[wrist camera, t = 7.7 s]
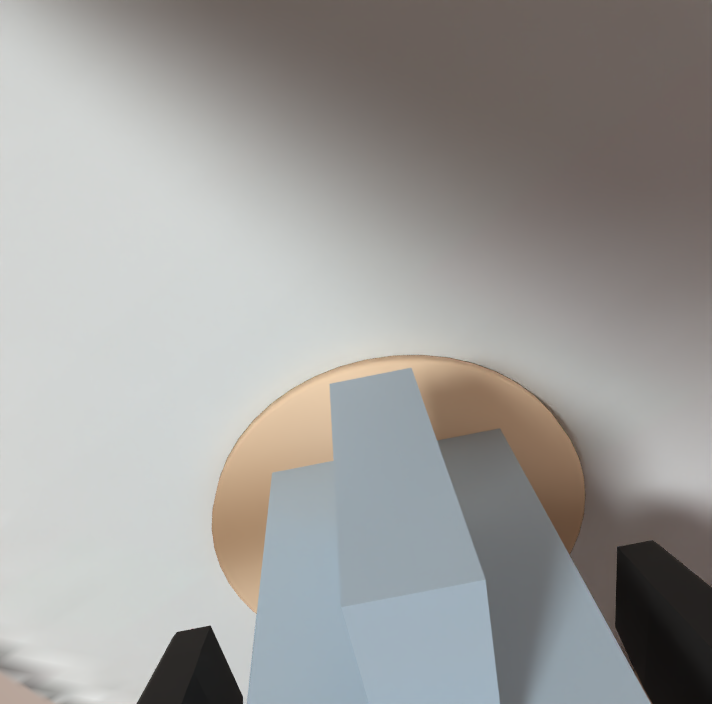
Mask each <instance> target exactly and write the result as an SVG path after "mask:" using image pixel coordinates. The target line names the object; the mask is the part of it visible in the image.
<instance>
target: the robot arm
mask: <svg viewBox="0 0 712 704" xmlns="http://www.w3.org/2000/svg"><path fill="white" fill-rule="evenodd" d="M615 627H616V629H617V631H618V633H619V636H620V638H621V640H622V642H623V645H624V647H625V649H626V651H627V653H628V656H629V658H630V660H631V662H632V664H633V667H634V669H635V671H636V673H637V675H638V677H639V679H640V681H641V683H642V686H643V688H644V690H645V691H646V693H647V695H648V697H649V698H650V700H651V702H652V704H712V587H710V586H709V585H708V584H707V583H705V582H704V581H703V580H702V579H700V578H699V577H698V576H697V575H695V574H694V573H693V572H692V571H691V570H689V569H688V568H687V567H686V566H684V565H683V564H682V563H681V562H679V561H678V560H677V559H676V558H675V557H673V556H672V555H671V554H670V553H668V552H667V551H666V550H665V549H664V548H662V547H661V546H660V545H659V544H657V543H656V542H654V541H653V540H652V541H646V542H641V543H636V544H631V545H626V546H621V547H617V580H616V620H615ZM137 704H243V696H242V694H241V692H240V689H239V687H238V685H237V683H236V681H235V678H234V676H233V674H232V672H231V670H230V667H229V665H228V663H227V661H226V659H225V656H224V654H223V652H222V650H221V648H220V645H219V643H218V641H217V639H216V637H215V634H214V632H213V630H212V628H211V626H206V627H201V628H196V629H191V630H185V631H180V632H177V633H176V634H175V635H174V637H173V638H172V640H171V642H170V644H169V645H168V647H167V649H166V651H165V653H164V655H163V656H162V658H161V660H160V662H159V664H158V666H157V668H156V669H155V671H154V673H153V675H152V677H151V679H150V680H149V682H148V684H147V686H146V688H145V690H144V691H143V693H142V695H141V697H140V699H139V700H138V702H137Z"/></svg>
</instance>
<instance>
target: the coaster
mask: <svg viewBox="0 0 712 704" xmlns="http://www.w3.org/2000/svg"><path fill="white" fill-rule="evenodd" d="M407 368H412V371H413V373H414V376H415V379H416V382H417V385H418V388H419V391H420V393H421V396H422V399H423V402H424V405H425V408H426V411H427V413H428V416H429V419H430V422H431V425H432V428H433V431H434V434H435V436H436V439H437V440H442V439H447V438H452V437H458V436H463V435H468V434H473V433H478V432H483V431H488V430H493V429H498V428H500V429H501V431H502V433H503V435H504V436H505V438H506V440H507V442H508V444H509V446H510V447H511V449H512V451H513V453H514V455H515V457H516V458H517V460H518V462H519V464H520V466H521V467H522V469H523V471H524V473H525V475H526V477H527V478H528V480H529V482H530V484H531V486H532V488H533V489H534V491H535V493H536V495H537V497H538V499H539V500H540V502H541V504H542V506H543V508H544V509H545V511H546V513H547V515H548V517H549V519H550V520H551V522H552V524H553V526H554V528H555V530H556V531H557V533H558V535H559V537H560V539H561V541H562V542H563V544H564V546H565V548H566V550H567V551H568V553H569V555H570V553H571V551H572V549H573V547H574V544H575V542H576V539H577V537H578V534H579V532H580V528H581V524H582V520H583V515H584V507H585V485H584V475H583V472H582V468H581V464H580V461H579V457H578V455H577V453H576V451H575V449H574V447H573V444H572V442H571V440H570V438H569V437H568V436H567V434H566V433H565V431H564V430H563V429H562V427H561V426H560V424H559V423H558V422H557V420H556V419H555V417H554V416H553V415H552V413H551V412H550V411H549V410H548V409H547V408H546V407H545V406H544V405H543V404H542V403H541V402H540V401H539V400H538V399H537V398H536V397H535V396H534V395H533V394H531V393H530V392H529V391H527V390H526V389H525V388H523V387H522V386H521V385H519V384H518V383H516V382H514V381H513V380H511V379H509V378H507V377H505V376H503V375H501V374H499V373H497V372H495V371H493V370H490V369H487V368H484V367H482V366H479V365H476V364H474V363H470V362H465V361H461V360H456V359H452V358H447V357H437V356H426V355H399V356H388V357H381V358H374V359H367V360H363V361H359V362H355V363H351V364H348V365H344V366H340V367H337V368H335V369H332V370H330V371H327V372H325V373H322V374H320V375H317V376H315V377H313V378H311V379H309V380H307V381H305V382H304V383H302V384H300V385H298V386H296V387H294V388H293V389H291V390H290V391H288V392H287V393H285V394H284V395H283V396H281V397H280V398H278V399H277V400H276V401H274V402H273V403H271V404H270V405H269V406H268V407H267V408H266V409H265V410H264V411H263V412H262V413H261V414H260V415H259V416H257V417H256V418H255V419H254V420H253V421H252V423H251V424H250V425H249V426H248V428H247V429H246V430H245V431H244V433H243V434H242V435H241V436H240V438H239V439H238V441H237V442H236V444H235V446H234V447H233V449H232V451H231V452H230V454H229V456H228V458H227V460H226V463H225V465H224V468H223V470H222V473H221V476H220V479H219V483H218V487H217V491H216V496H215V501H214V505H213V512H212V534H213V541H214V548H215V551H216V555H217V558H218V561H219V564H220V567H221V569H222V571H223V572H224V574H225V576H226V578H227V580H228V582H229V584H230V585H231V586H232V588H233V589H234V591H235V592H236V593H237V595H238V596H239V597H240V598H241V599H242V600H243V602H244V603H245V604H246V605H247V606H248V607H249V608H250V609H251V610H252V611H253V612H255V613H256V614H257V607H258V597H259V588H260V579H261V570H262V561H263V552H264V542H265V533H266V524H267V515H268V506H269V497H270V488H271V478H272V473H273V472H278V471H284V470H289V469H294V468H299V467H304V466H309V465H314V464H319V463H325V462H330V461H334V460H333V441H332V422H331V403H330V384H331V383H336V382H341V381H346V380H351V379H356V378H361V377H366V376H371V375H376V374H382V373H387V372H392V371H397V370H402V369H407Z"/></svg>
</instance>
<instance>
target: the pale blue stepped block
mask: <svg viewBox="0 0 712 704" xmlns="http://www.w3.org/2000/svg"><path fill="white" fill-rule="evenodd" d="M330 403H331V422H332V441H333V460H334V461H330V462H325V463H319V464H314V465H309V466H304V467H299V468H294V469H289V470H284V471H278V472H273V473H272V478H271V488H270V497H269V506H268V515H267V524H266V533H265V542H264V552H263V561H262V570H261V579H260V588H259V597H258V607H257V616H256V625H255V634H254V643H253V652H252V662H251V671H250V680H249V689H248V698H247V704H651V703H650V701H649V699H648V698H647V696H646V694H645V692H644V690H643V688H642V687H641V685H640V683H639V681H638V679H637V677H636V676H635V674H634V672H633V670H632V668H631V667H630V665H629V663H628V661H627V659H626V657H625V656H624V654H623V652H622V650H621V648H620V646H619V645H618V643H617V641H616V639H615V637H614V635H613V634H612V632H611V630H610V628H609V626H608V625H607V623H606V621H605V619H604V617H603V615H602V614H601V612H600V610H599V608H598V606H597V604H596V603H595V601H594V599H593V597H592V595H591V593H590V592H589V590H588V588H587V586H586V584H585V583H584V581H583V579H582V577H581V575H580V573H579V572H578V570H577V568H576V566H575V564H574V562H573V561H572V559H571V557H570V555H569V553H568V551H567V550H566V548H565V546H564V544H563V542H562V541H561V539H560V537H559V535H558V533H557V531H556V530H555V528H554V526H553V524H552V522H551V520H550V519H549V517H548V515H547V513H546V511H545V509H544V508H543V506H542V504H541V502H540V500H539V499H538V497H537V495H536V493H535V491H534V489H533V488H532V486H531V484H530V482H529V480H528V478H527V477H526V475H525V473H524V471H523V469H522V467H521V466H520V464H519V462H518V460H517V458H516V457H515V455H514V453H513V451H512V449H511V447H510V446H509V444H508V442H507V440H506V438H505V436H504V435H503V433H502V431H501V429H500V428H498V429H493V430H488V431H483V432H478V433H473V434H468V435H463V436H458V437H452V438H447V439H442V440H437V439H436V436H435V434H434V431H433V428H432V425H431V422H430V419H429V416H428V413H427V411H426V408H425V405H424V402H423V399H422V396H421V393H420V391H419V388H418V385H417V382H416V379H415V376H414V373H413V371H412V368H407V369H402V370H397V371H392V372H387V373H382V374H376V375H371V376H366V377H361V378H356V379H351V380H346V381H341V382H336V383H331V384H330Z"/></svg>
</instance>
